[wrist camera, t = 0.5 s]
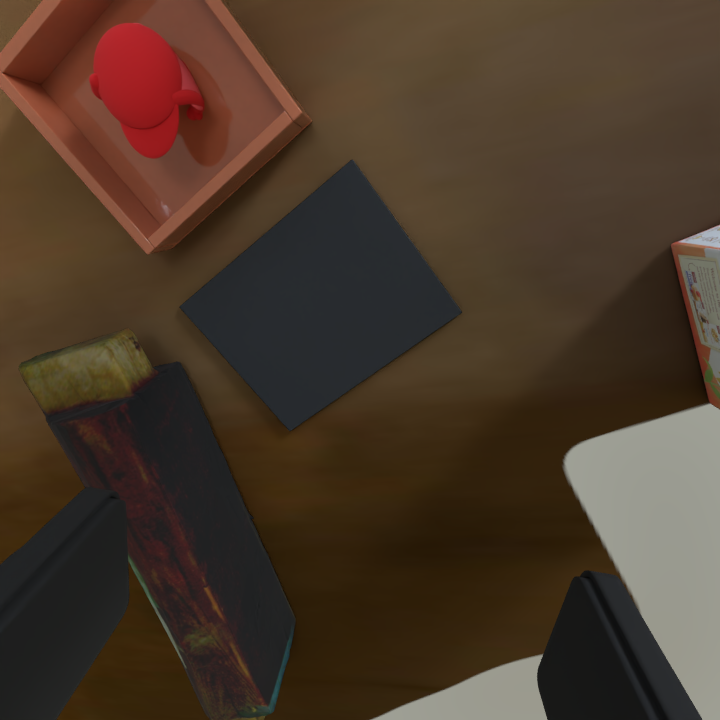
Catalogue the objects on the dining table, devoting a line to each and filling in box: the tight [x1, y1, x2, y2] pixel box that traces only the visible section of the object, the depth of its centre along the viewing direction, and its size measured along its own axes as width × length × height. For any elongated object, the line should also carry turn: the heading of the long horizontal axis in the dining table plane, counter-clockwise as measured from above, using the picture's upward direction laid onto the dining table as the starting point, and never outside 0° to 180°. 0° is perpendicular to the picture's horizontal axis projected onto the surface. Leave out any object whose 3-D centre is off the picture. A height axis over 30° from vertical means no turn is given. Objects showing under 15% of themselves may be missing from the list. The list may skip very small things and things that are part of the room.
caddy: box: [0, 0, 312, 255], centre depth 31 cm, size 15×15×4 cm
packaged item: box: [19, 328, 296, 720], centre depth 41 cm, size 39×10×10 cm, turn 16°
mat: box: [180, 160, 462, 431], centre depth 37 cm, size 18×14×1 cm
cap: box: [89, 23, 205, 159], centre depth 30 cm, size 8×6×6 cm
